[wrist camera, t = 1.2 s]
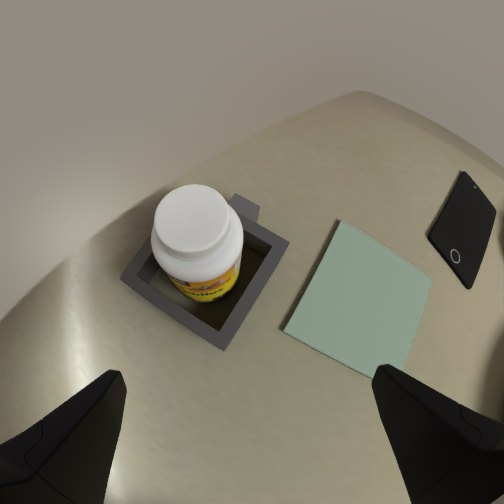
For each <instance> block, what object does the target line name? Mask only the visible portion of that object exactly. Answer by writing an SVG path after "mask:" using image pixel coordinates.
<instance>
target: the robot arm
mask: <svg viewBox="0 0 504 504" xmlns="http://www.w3.org/2000/svg"><path fill="white" fill-rule="evenodd" d="M372 389H373V393H374V396H375V400H376V403H377V407H378V411H379V414H380V418H381V421H382V423H383V426H384V428H385V431H386V434H387V436H388V439H389V441H390V444H391V447H392V449H393V452H394V455H395V457H396V460H397V463H398V466H399V468H400V471H401V474H402V477H403V480H404V483H405V486H406V488H407V491H408V494H409V498H410V501H411V502H412V503H411V504H504V423H501V422H498V421H496V420H493V419H491V418H488V417H486V416H484V415H481V414H479V413H477V412H475V411H473V410H471V409H469V408H467V407H465V406H463V405H461V404H458V402H456V401H454V400H452V399H450V398H448V397H447V396H445V395H443V394H441V393H439V392H438V391H436V390H434V389H432V388H431V387H429V386H427V385H425V384H423V383H422V382H420V381H418V380H416V379H415V378H413V377H411V376H409V375H408V374H406V373H404V372H402V371H401V370H399V369H397V368H396V367H394V366H392V365H390V364H383V365H379V366H378V367H377V369H376V372H375V374H374V377H373V379H372ZM126 393H127V389H126V385H125V382H124V379H123V377H122V374H121V372H120V371H117V370H108V371H106V372H105V373H103V374H102V375H101V376H99V377H98V378H97V379H95V380H94V381H93V382H91V383H90V384H89V385H87V386H86V387H85V388H83V389H82V390H81V391H79V392H78V393H76V394H75V395H74V396H72V397H71V398H70V399H68V400H67V401H66V402H64V403H63V404H62V405H60V406H59V407H57V408H56V409H55V410H53V411H52V412H51V413H49V414H48V415H47V416H45V417H44V418H43V419H42V420H40V421H38V422H37V423H35V424H34V425H33V426H31V427H30V428H28V429H27V430H25V431H24V432H22V433H20V434H19V435H17V436H15V437H13V438H12V439H10V440H8V441H6V442H4V443H2V444H1V445H0V504H103V503H104V498H105V493H106V488H107V483H108V478H109V474H110V470H111V465H112V461H113V457H114V453H115V449H116V445H117V441H118V438H119V434H120V430H121V424H122V418H123V411H124V405H125V399H126Z"/></svg>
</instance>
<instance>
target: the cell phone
mask: <svg viewBox="0 0 504 504" xmlns="http://www.w3.org/2000/svg"><path fill="white" fill-rule="evenodd" d="M495 216H496V210H495V208H494V206H493V205H492V204H491V202H490V201H489V200H488V198H487V197H486V196H485V194H484V193H483V192H482V191H481V189H480V188H479V187H478V186H477V184H476V183H475V182H474V181H473V180H472V178H471V177H470V176H469V175H468V174H467V173H466V172H465V171H463V172H462V173H461V175H460V177H459V180H458V182H457V184H456V186H455V188H454V190H453V192H452V194H451V195H450V197H449V199H448V201H447V203H446V205H445V207H444V209H443V210H442V212H441V214H440V216H439V218H438V219H437V221H436V223H435V224H434V226H433V228H432V230H431V231H430V233H429V235H428V240H429V241H430V243H431V244H432V245H433V246H434V248H435V249H436V250H437V251H438V252H439V254H440V255H441V256H442V257H443V259H444V260H445V261H446V262H447V264H448V265H449V266H450V268H451V269H452V270H453V271H454V273H455V274H456V275H457V277H458V278H459V280H460V281H461V282H462V284H463V285H464V286H465V288H466V289H471V288H472V286H473V283H474V281H475V278H476V276H477V273H478V271H479V268H480V265H481V262H482V260H483V257H484V254H485V251H486V248H487V245H488V241H489V238H490V235H491V231H492V228H493V224H494V220H495Z"/></svg>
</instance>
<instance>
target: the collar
mask: <svg viewBox="0 0 504 504" xmlns="http://www.w3.org/2000/svg"><path fill="white" fill-rule="evenodd" d="M227 204H228V205H230V206H231V207H232V208H233V210H234V211H235V212H236V213H237V215H238V217H239V219H240V221H241V224H242V228H243V245H245V246H246V247H248V248H250V249H252V250H253V251H255V252H257V253H258V254H260V255H262V256H264V257H265V259H264V261H263V263H262V264H261V266H260V267H259V269H258V271H257V272H256V274H255V275H254V277H253V279H252V280H251V282H250V284H249V285H248V287H247V288H246V290H245V292H244V293H243V295H242V296H241V298H240V300H239V301H238V303H237V304H236V306H235V307H234V309H233V311H232V312H231V314H230V315H229V317H228V319H227V320H226V322H225V323H224V325H223V327H222V328H221V330H220V331H219V332H218V331H217V330H215V329H214V328H212V327H210V326H209V325H207V324H206V323H204V322H203V321H201V320H199V319H198V318H196V317H195V316H193V315H192V314H190V313H189V312H187V311H186V310H184V309H183V308H181V307H180V306H178V305H177V304H175V303H174V302H172V301H171V300H170V299H168V298H167V297H165V296H164V295H162V294H161V293H160V292H158V291H157V290H155V289H154V288H152V287H151V286H150V285H148V282H149V281H150V279H151V278H152V276H153V275H154V274H155V272H156V271H157V269H158V268H159V266H160V265H159V263H158V262H157V260H156V258H155V256H154V254H153V250H152V246H151V235H150V237H149V238H148V239H147V241H146V242H145V243H144V245H143V246H142V248H141V249H140V250H139V252H138V253H137V254H136V256H135V257H134V259H133V260H132V261H131V263H130V264H129V266H128V267H127V268H126V270H125V271H124V273H123V274H122V276H121V277H120V280H122V281H123V282H124V283H125V284H127V285H128V286H129V287H131V288H132V289H133V290H135V291H136V292H137V293H138V294H140V295H141V296H142V297H144V298H145V299H147V300H148V301H149V302H151V303H152V304H153V305H155V306H156V307H158V308H159V309H160V310H162V311H163V312H165V313H166V314H167V315H169V316H170V317H172V318H173V319H175V320H176V321H178V322H179V323H180V324H182V325H183V326H185V327H186V328H188V329H189V330H191V331H192V332H194V333H196V334H197V335H199V336H200V337H202V338H203V339H205V340H206V341H208V342H210V343H211V344H213V345H214V346H216V347H218V348H219V349H221V350H223V351H225V350H226V348H227V347H228V345H229V344H230V342H231V340H232V339H233V337H234V336H235V334H236V332H237V331H238V329H239V328H240V326H241V324H242V323H243V321H244V320H245V318H246V316H247V315H248V313H249V311H250V310H251V308H252V307H253V305H254V303H255V302H256V300H257V298H258V297H259V295H260V293H261V292H262V290H263V288H264V287H265V285H266V283H267V282H268V280H269V278H270V277H271V275H272V273H273V272H274V270H275V268H276V267H277V265H278V263H279V262H280V260H281V258H282V256H283V255H284V253H285V251H286V249H287V247H288V245H289V243H290V242H288V241H287V240H285V239H283V238H281V237H280V236H278V235H276V234H274V233H273V232H271V231H269V230H267V229H266V228H264V227H262V226H260V225H259V224H257V223H256V222H257V219H258V214H259V209H260V206H258V205H256V204H255V203H253V202H251V201H249V200H247V199H245V198H244V197H242V196H240V195H238V194H236V193H235V194H234V196H233V197H232V198H231V199H230V201H229V202H228V203H227Z"/></svg>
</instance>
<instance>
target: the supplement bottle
mask: <svg viewBox="0 0 504 504" xmlns="http://www.w3.org/2000/svg"><path fill="white" fill-rule="evenodd" d="M151 246H152V250H153V254H154V256H155V258H156V260H157V262H158V263H159V265H160V266H161V268H162V269H163V270H164V271H165V273H166V274H167V275H168V276H169V278H170V279H171V280H172V282H173V283H174V284H175V285H176V287H177V288H178V289H179V290H180V291H181V292H182V293H183V294H184V295H185V296H186V297H188V298H189V299H191V300H194V301H197V302H204V303H207V302H214V301H217V300H220V299H222V298H223V297H225V296H226V295H227V294H229V293H230V292H231V290H232V289H233V288H234V286H235V284H236V282H237V280H238V276H239V269H240V262H241V254H242V247H243V228H242V224H241V221H240V219H239V217H238V215H237V213H236V212H235V211H234V210H233V208H232V207H231V206H230V205H228V204H227V202H226V201H225V199H224V198H223V196H222V195H221V194H220V193H219V192H217V191H216V190H214V189H212V188H210V187H208V186H204V185H198V184H190V185H185V186H181V187H178V188H176V189H174V190H172V191H171V192H170V193H168V194H167V195H166V196H165V197H164V198H163V199H162V200H161V202H160V203H159V205H158V206H157V209H156V212H155V216H154V225H153V228H152V233H151Z"/></svg>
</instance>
